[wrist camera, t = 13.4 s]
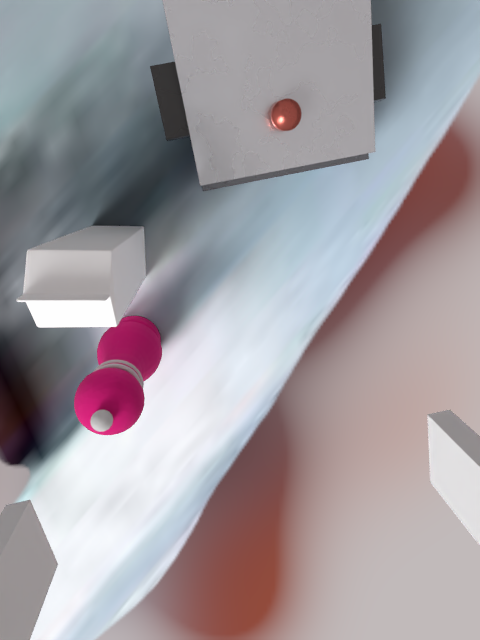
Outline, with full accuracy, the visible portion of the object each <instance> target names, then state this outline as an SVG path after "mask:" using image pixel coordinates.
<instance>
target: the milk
mask: <svg viewBox="0 0 480 640" xmlns="http://www.w3.org/2000/svg"><path fill="white" fill-rule="evenodd" d="M145 278H146V258H145V236H144V227H143V226H90V227H87V228H84V229H82V230H79V231H76V232H73V233H71V234H68V235H65V236H63V237H60V238H57V239H55V240H52V241H49V242H47V243H44V244H41V245H39V246H36V247H33V248H31V249H28V250H27V257H26V269H25V280H24V291H23V295H22V296H20V297H19V298H17V299H16V301H18V302H26V303H27V305H28V307H29V310H30V312H31V314H32V316H33V318H34V321H35V323H36V325H37V327H117V326H118V324H119V322H120V321H121V319H122V317H123V315H124V314H125V312H126V310H127V309H128V307H129V305H130V303H131V302H132V300H133V298H134V297H135V295H136V293H137V291H138V290H139V288H140V286H141V285H142V283H143V281H144V279H145Z"/></svg>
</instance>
